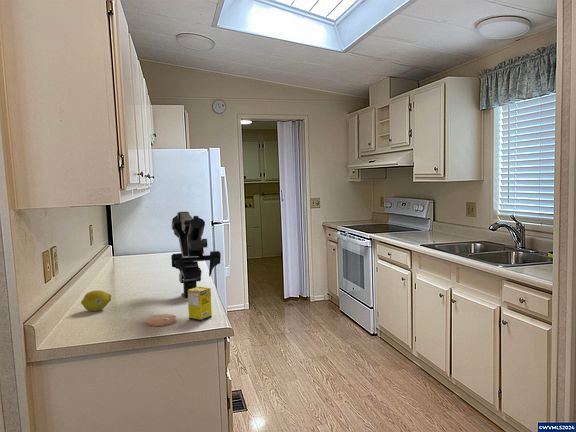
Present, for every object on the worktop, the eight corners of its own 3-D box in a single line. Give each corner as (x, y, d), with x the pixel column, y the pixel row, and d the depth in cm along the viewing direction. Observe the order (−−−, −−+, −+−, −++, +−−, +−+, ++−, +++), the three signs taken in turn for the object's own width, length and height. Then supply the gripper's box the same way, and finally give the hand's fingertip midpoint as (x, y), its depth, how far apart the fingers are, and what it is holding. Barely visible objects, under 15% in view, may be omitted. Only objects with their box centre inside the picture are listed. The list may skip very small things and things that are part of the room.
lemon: (80, 315, 161) (79, 294, 160) (82, 309, 168) (81, 289, 167) (111, 311, 164) (110, 291, 164) (112, 306, 172) (111, 287, 171)
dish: (144, 320, 152) (143, 317, 152) (171, 315, 157) (171, 312, 157) (150, 328, 143) (150, 325, 143) (179, 323, 148) (179, 319, 148)
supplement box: (212, 317, 154) (211, 287, 154) (200, 321, 149) (199, 291, 148) (199, 314, 157) (198, 286, 157) (188, 319, 152) (187, 289, 152)
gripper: (170, 233, 161) (171, 266, 152) (219, 230, 166) (223, 263, 157) (171, 250, 170) (172, 283, 160) (217, 247, 175) (221, 279, 165)
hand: (197, 277), depth 160 cm, fingers open, 9 cm apart
